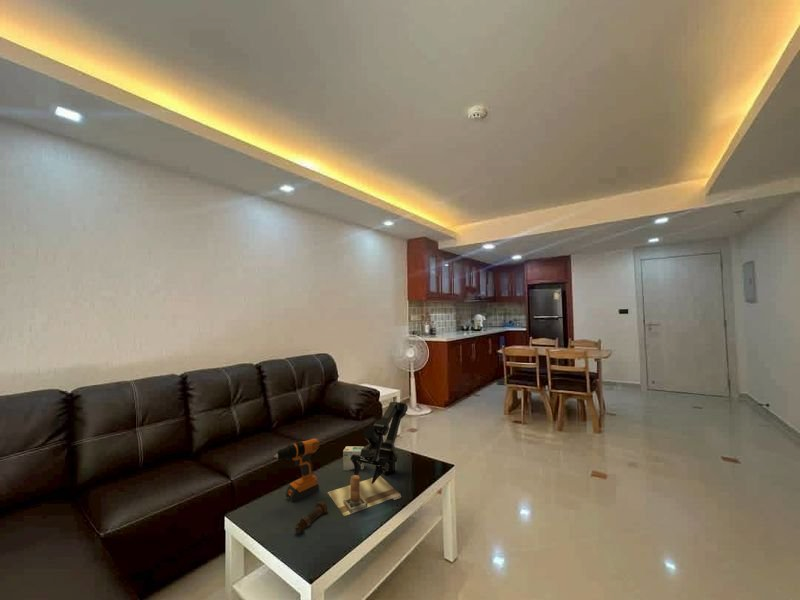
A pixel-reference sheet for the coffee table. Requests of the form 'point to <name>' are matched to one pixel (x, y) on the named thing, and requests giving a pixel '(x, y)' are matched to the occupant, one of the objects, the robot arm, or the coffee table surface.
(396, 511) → the coffee table surface
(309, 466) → the power drill
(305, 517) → the bolt
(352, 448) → the light bulb box
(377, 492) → the subfloor panel
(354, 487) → the brown piece
